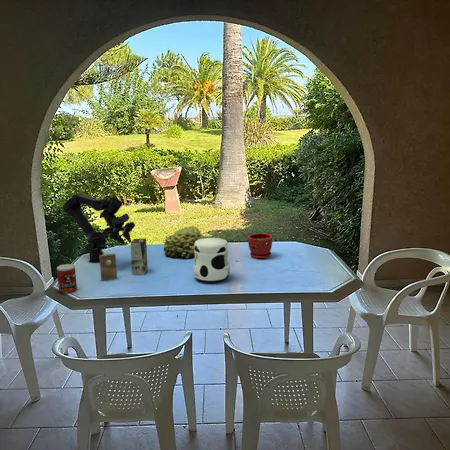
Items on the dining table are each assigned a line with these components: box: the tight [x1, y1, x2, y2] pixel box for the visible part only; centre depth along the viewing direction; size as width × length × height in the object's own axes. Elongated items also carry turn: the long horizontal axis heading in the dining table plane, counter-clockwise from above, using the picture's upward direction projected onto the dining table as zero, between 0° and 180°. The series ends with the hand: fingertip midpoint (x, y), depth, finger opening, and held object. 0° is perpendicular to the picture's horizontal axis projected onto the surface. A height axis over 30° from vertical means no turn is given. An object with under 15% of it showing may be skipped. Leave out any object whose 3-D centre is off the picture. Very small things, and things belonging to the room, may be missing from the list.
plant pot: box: [247, 232, 273, 259], centre depth 247 cm, size 13×13×12 cm
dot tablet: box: [99, 253, 118, 282], centre depth 214 cm, size 3×7×12 cm, turn 116°
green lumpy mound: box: [163, 225, 205, 260], centre depth 255 cm, size 25×24×16 cm
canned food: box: [56, 263, 78, 293], centre depth 200 cm, size 8×8×11 cm
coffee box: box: [130, 238, 149, 275], centre depth 224 cm, size 9×6×16 cm
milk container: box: [192, 237, 231, 283], centre depth 213 cm, size 17×17×18 cm
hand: (127, 243), depth 227 cm, fingers open, 4 cm apart
